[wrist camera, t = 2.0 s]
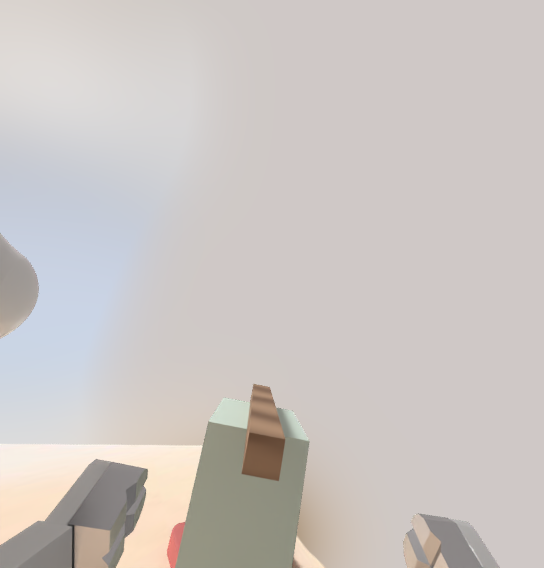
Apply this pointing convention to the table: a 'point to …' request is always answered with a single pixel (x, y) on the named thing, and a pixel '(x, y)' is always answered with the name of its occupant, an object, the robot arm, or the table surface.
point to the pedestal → (243, 498)
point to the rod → (263, 437)
